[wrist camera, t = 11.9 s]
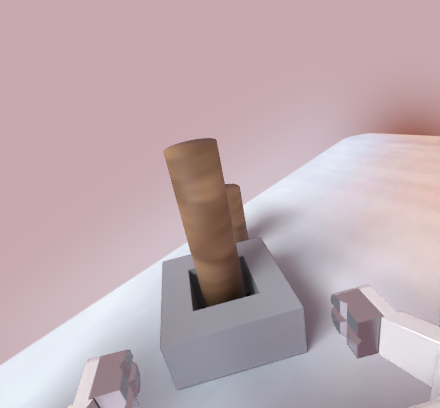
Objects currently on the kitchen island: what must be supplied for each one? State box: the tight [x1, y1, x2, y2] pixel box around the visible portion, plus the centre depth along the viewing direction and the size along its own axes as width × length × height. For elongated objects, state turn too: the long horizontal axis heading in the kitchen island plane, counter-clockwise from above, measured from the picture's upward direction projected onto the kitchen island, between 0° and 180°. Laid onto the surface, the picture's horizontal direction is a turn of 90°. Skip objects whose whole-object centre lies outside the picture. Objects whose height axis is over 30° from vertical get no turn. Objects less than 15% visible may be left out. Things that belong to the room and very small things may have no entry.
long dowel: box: [164, 138, 246, 308], centre depth 22 cm, size 4×4×16 cm
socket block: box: [160, 237, 307, 390], centre depth 25 cm, size 10×10×4 cm
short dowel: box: [225, 184, 248, 243], centre depth 34 cm, size 4×4×8 cm
